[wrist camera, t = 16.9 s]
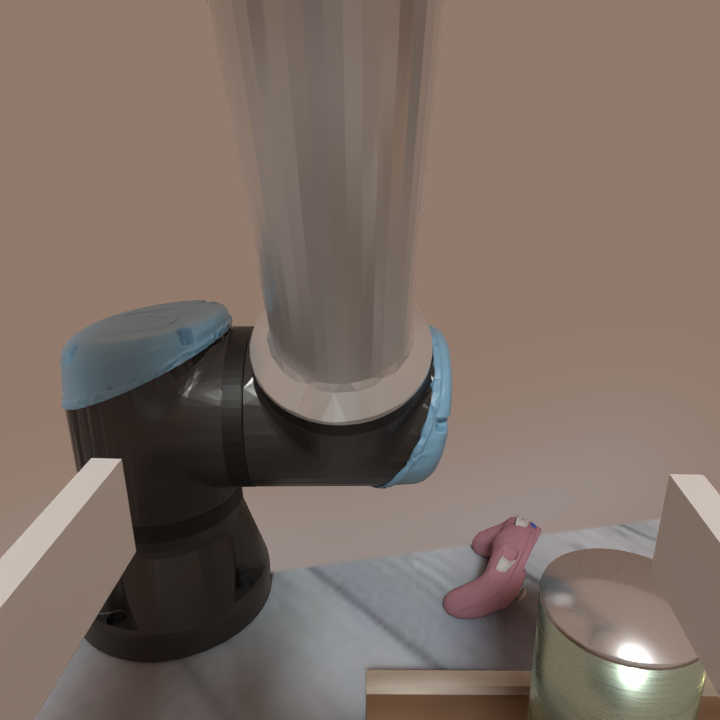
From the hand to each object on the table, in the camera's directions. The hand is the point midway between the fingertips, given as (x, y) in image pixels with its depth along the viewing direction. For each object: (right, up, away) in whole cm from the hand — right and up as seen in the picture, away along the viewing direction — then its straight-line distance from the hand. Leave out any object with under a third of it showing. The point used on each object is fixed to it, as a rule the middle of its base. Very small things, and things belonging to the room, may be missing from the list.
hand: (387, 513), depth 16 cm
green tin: (+12, -19, +19) cm, 29 cm away
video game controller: (+10, -15, +37) cm, 41 cm away
